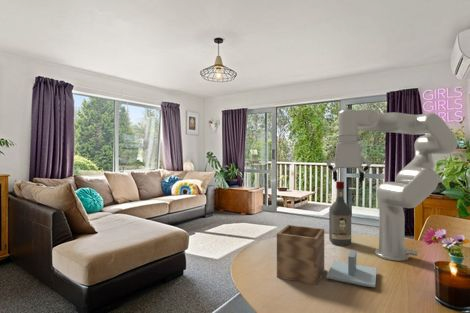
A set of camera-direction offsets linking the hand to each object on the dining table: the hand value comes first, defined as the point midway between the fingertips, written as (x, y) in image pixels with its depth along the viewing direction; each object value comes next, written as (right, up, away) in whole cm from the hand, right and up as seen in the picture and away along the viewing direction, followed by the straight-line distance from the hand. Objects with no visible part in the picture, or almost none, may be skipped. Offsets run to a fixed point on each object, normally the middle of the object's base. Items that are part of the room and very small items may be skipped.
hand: (348, 182), depth 116 cm
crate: (-22, -33, -12) cm, 41 cm away
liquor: (+5, -32, +24) cm, 40 cm away
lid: (-5, -33, -15) cm, 36 cm away
